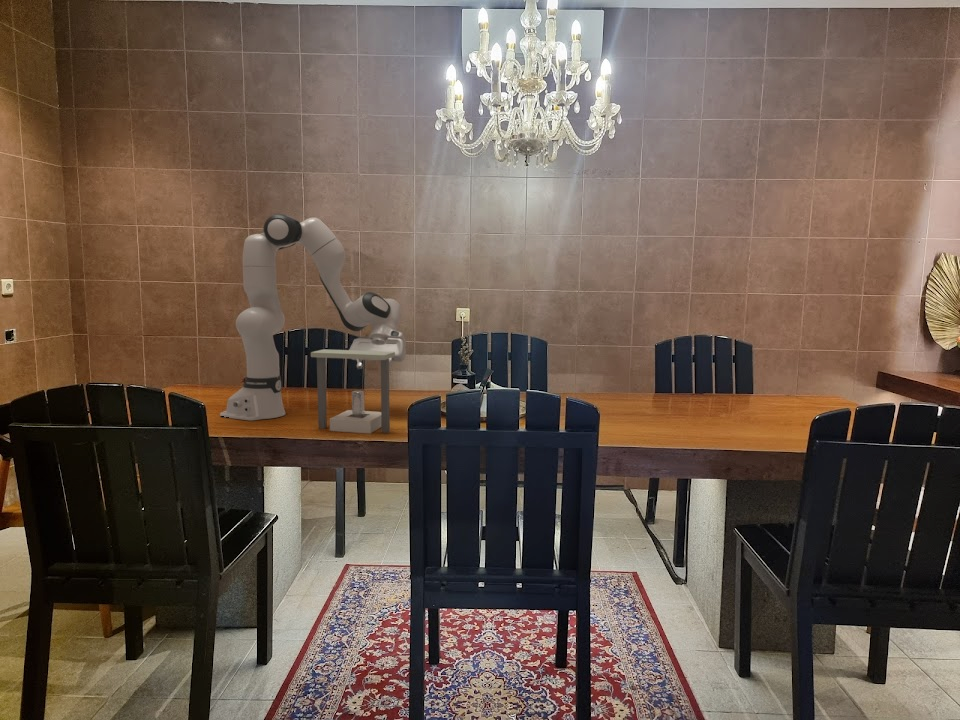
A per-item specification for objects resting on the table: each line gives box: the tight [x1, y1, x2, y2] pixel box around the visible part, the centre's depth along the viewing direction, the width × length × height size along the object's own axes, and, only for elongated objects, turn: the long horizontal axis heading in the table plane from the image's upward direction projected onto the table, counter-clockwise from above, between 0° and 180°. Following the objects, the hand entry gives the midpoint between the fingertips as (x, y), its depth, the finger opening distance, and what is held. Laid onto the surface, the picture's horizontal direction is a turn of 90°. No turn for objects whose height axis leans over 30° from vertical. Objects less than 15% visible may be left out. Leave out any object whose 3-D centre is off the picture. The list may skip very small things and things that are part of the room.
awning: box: [310, 349, 395, 434], centre depth 208 cm, size 25×9×26 cm, turn 77°
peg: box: [351, 390, 365, 418], centre depth 212 cm, size 4×4×12 cm
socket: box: [329, 409, 382, 434], centre depth 213 cm, size 14×14×4 cm
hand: (371, 368), depth 222 cm, fingers open, 8 cm apart
